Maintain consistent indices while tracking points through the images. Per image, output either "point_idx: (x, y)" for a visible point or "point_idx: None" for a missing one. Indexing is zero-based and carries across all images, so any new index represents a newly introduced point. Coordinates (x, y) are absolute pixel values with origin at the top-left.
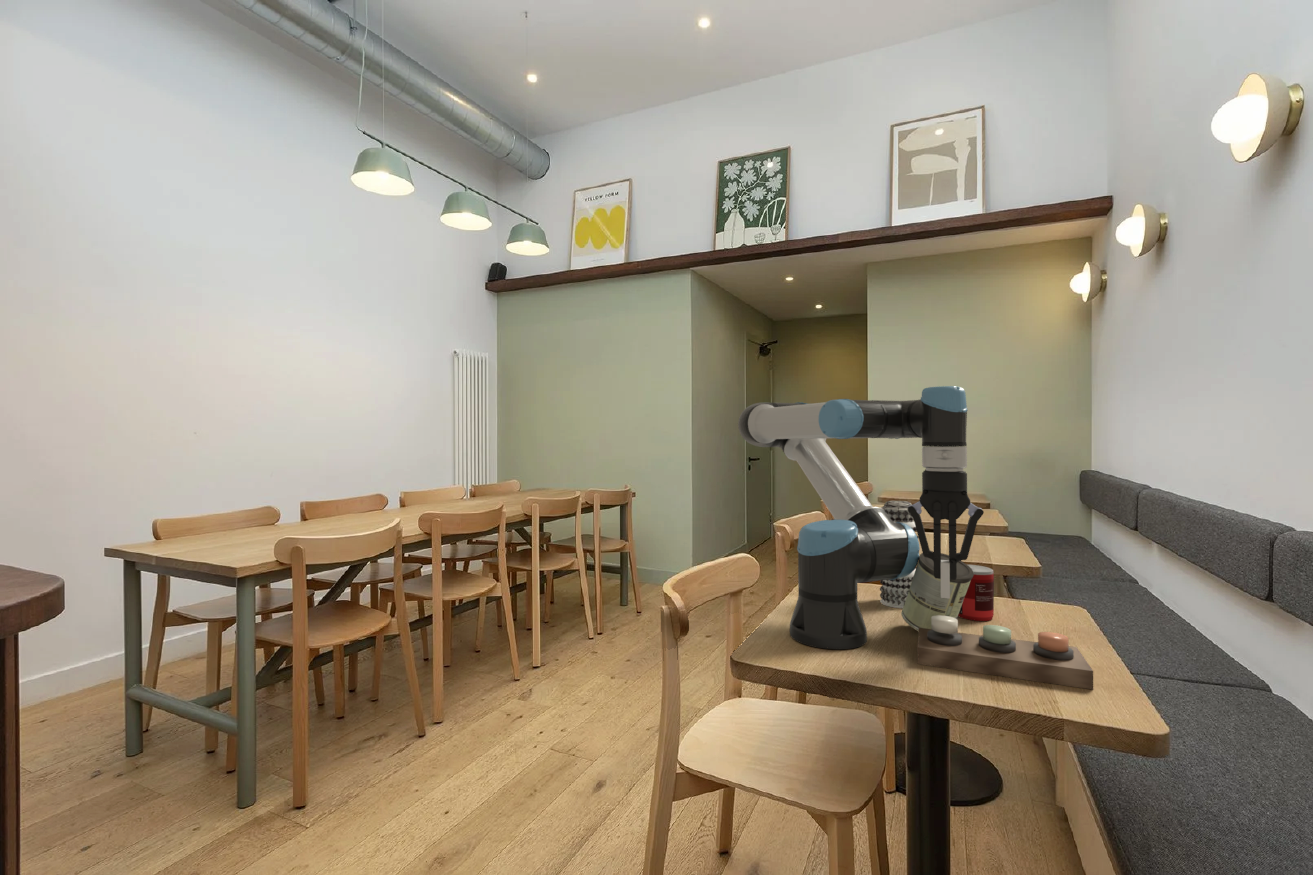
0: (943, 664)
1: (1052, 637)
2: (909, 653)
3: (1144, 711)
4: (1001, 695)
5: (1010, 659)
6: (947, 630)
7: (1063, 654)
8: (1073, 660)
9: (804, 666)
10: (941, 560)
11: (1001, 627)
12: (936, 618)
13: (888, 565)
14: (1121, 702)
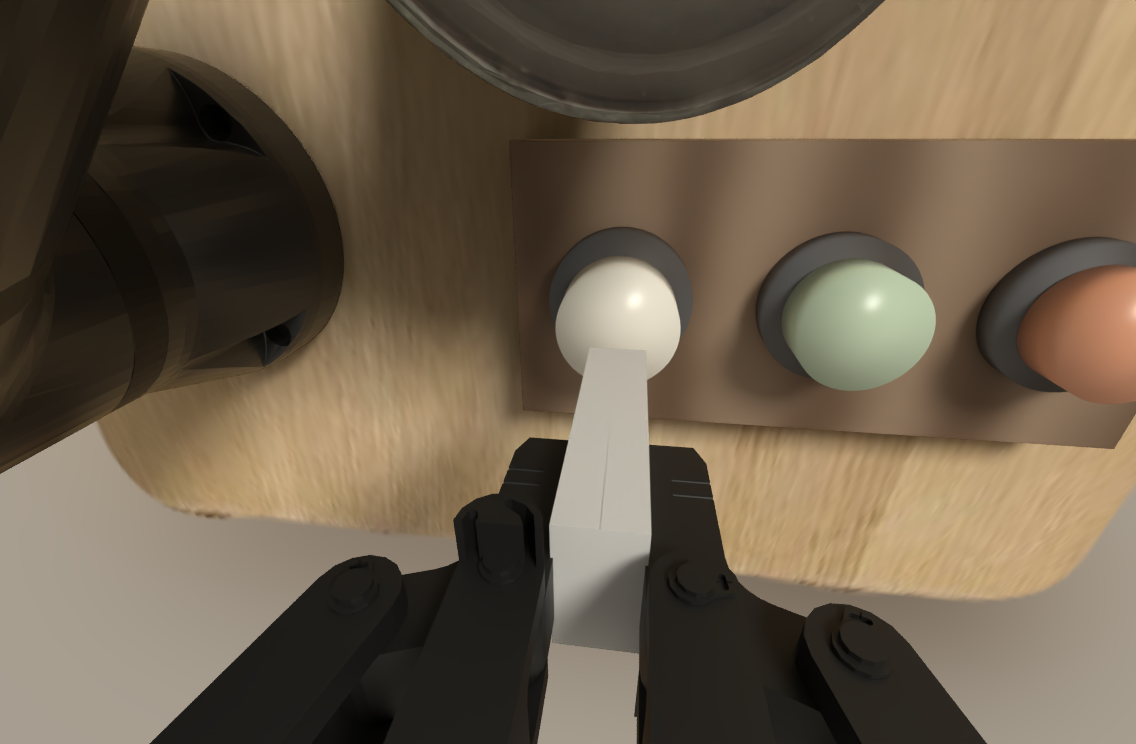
0: None
1: (1115, 370)
2: (502, 291)
3: (1112, 514)
4: (741, 518)
5: (833, 425)
6: None
7: None
8: None
9: (275, 489)
10: (561, 554)
11: (900, 301)
12: (578, 338)
13: (47, 164)
14: (1086, 477)
